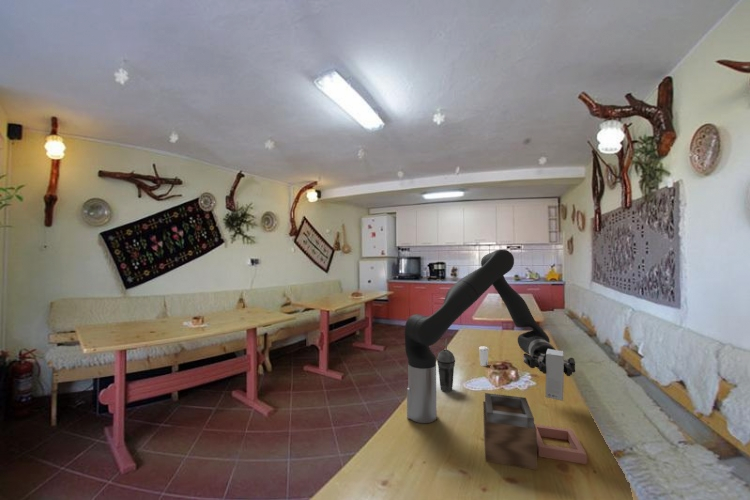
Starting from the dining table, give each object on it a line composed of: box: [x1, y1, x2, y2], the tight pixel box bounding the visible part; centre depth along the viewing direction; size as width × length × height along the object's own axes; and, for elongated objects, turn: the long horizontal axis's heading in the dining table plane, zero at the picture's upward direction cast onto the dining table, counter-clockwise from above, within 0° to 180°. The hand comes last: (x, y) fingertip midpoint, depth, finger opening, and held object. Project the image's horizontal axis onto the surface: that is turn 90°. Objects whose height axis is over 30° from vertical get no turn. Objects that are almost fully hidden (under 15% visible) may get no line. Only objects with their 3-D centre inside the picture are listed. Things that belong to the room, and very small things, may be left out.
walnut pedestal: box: [482, 392, 538, 471], centre depth 84 cm, size 12×12×12 cm
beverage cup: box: [436, 338, 456, 393], centre depth 124 cm, size 7×7×20 cm
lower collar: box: [534, 423, 588, 465], centre depth 86 cm, size 11×12×2 cm
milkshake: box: [478, 345, 491, 367], centre depth 152 cm, size 5×5×10 cm
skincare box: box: [545, 349, 565, 402], centre depth 87 cm, size 6×4×12 cm
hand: (556, 371), depth 84 cm, fingers closed on skincare box, 5 cm apart
